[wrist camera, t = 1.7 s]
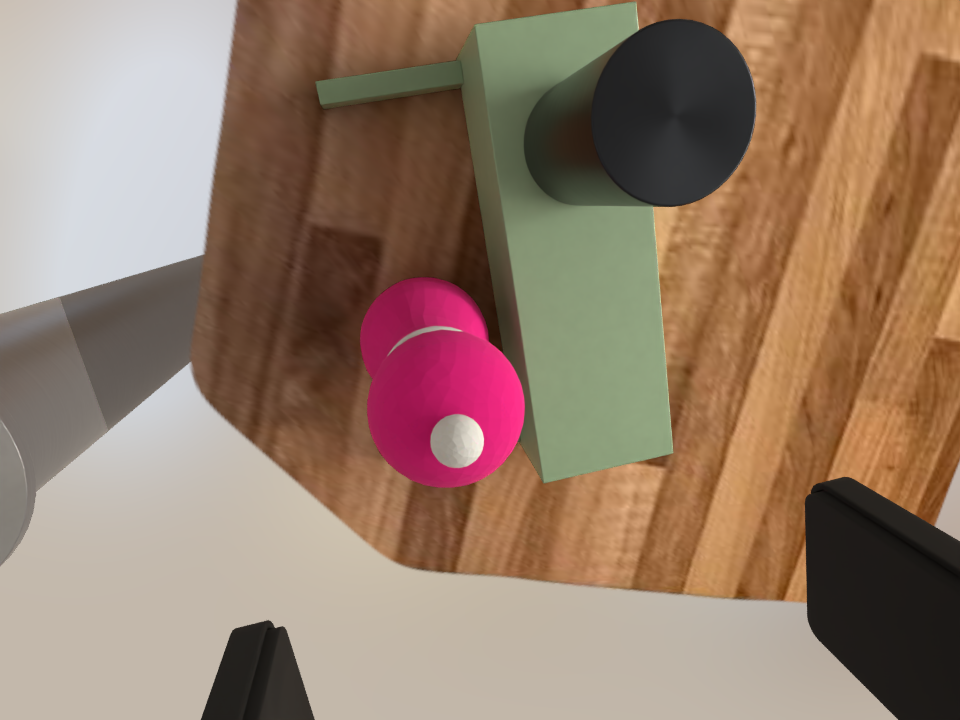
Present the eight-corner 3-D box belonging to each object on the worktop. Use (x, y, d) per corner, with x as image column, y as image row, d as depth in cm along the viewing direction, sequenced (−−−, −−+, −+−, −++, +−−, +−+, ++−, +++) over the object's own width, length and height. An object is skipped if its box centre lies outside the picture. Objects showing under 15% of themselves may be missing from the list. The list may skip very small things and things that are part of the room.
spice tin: (532, 215, 30) (601, 220, 21) (514, 88, 29) (581, 31, 19) (643, 194, 31) (760, 191, 22) (632, 70, 29) (754, 6, 20)
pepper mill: (348, 363, 38) (316, 528, 19) (380, 253, 37) (381, 311, 17) (456, 392, 40) (527, 571, 20) (491, 288, 38) (602, 375, 19)
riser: (401, 463, 40) (405, 515, 34) (316, 79, 34) (300, 48, 27) (626, 413, 42) (673, 453, 35) (588, 39, 35) (636, 0, 29)
